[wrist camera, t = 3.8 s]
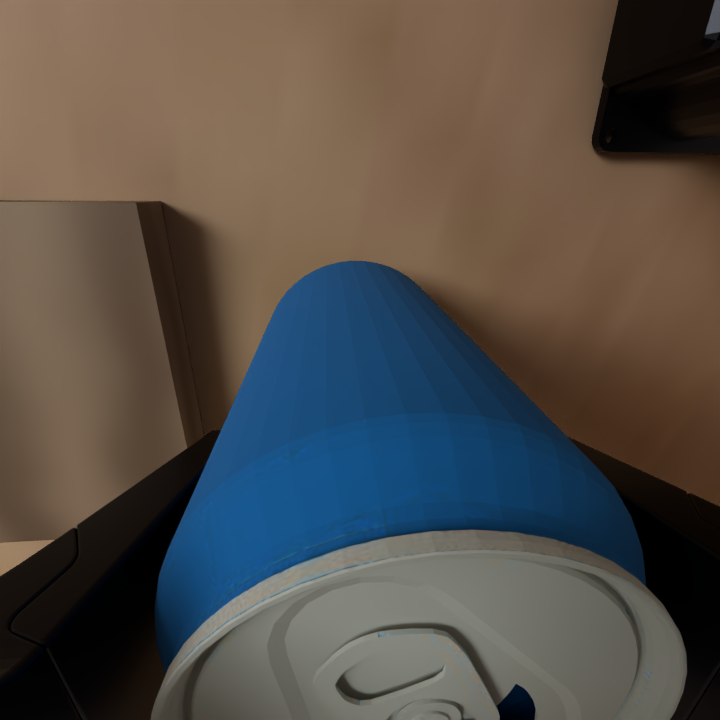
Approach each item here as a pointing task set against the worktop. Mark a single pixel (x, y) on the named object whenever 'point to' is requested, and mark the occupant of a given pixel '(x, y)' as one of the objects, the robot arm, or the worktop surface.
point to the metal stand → (86, 360)
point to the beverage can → (402, 538)
